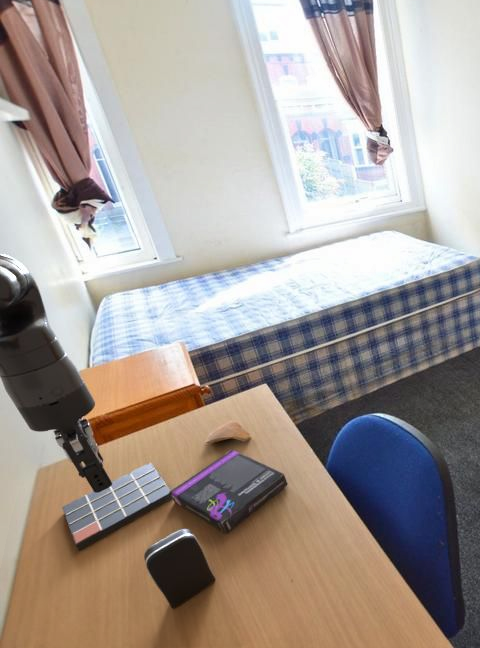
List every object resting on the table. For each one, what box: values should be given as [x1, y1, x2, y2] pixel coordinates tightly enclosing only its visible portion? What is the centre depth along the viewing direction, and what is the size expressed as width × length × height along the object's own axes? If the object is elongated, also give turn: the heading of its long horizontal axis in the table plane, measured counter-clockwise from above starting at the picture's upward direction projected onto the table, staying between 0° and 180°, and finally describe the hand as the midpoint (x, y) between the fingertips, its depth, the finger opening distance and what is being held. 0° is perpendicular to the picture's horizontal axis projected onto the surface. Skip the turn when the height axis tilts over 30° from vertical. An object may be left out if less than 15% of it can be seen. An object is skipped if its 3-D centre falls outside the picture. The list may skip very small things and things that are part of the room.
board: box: [61, 462, 173, 551], centre depth 99 cm, size 16×16×2 cm
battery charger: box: [143, 528, 216, 609], centre depth 77 cm, size 7×4×11 cm, turn 136°
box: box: [169, 449, 288, 535], centre depth 98 cm, size 14×4×20 cm
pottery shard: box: [205, 420, 252, 445], centre depth 117 cm, size 10×9×2 cm
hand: (99, 476), depth 74 cm, fingers open, 8 cm apart
